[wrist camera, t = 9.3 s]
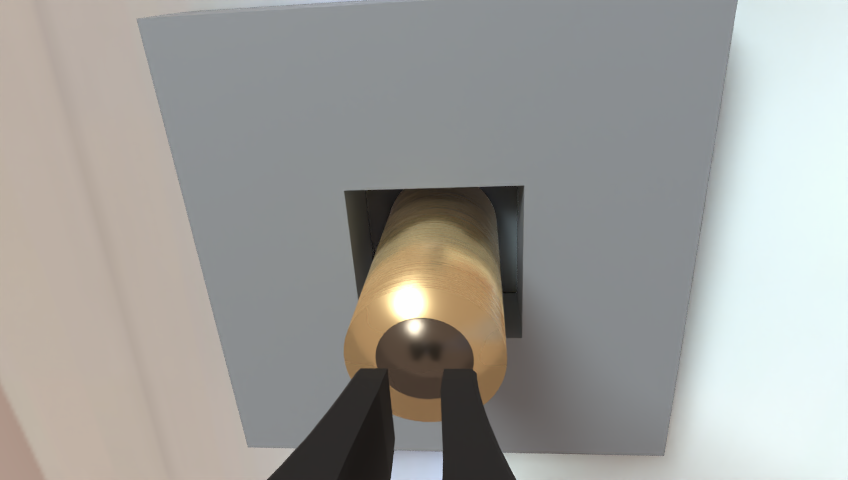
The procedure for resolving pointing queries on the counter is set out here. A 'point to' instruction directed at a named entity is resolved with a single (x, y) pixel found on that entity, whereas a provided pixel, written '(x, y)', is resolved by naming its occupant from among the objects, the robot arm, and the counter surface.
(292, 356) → the jig block
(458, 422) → the robot arm
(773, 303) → the counter surface
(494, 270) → the brass sleeve
